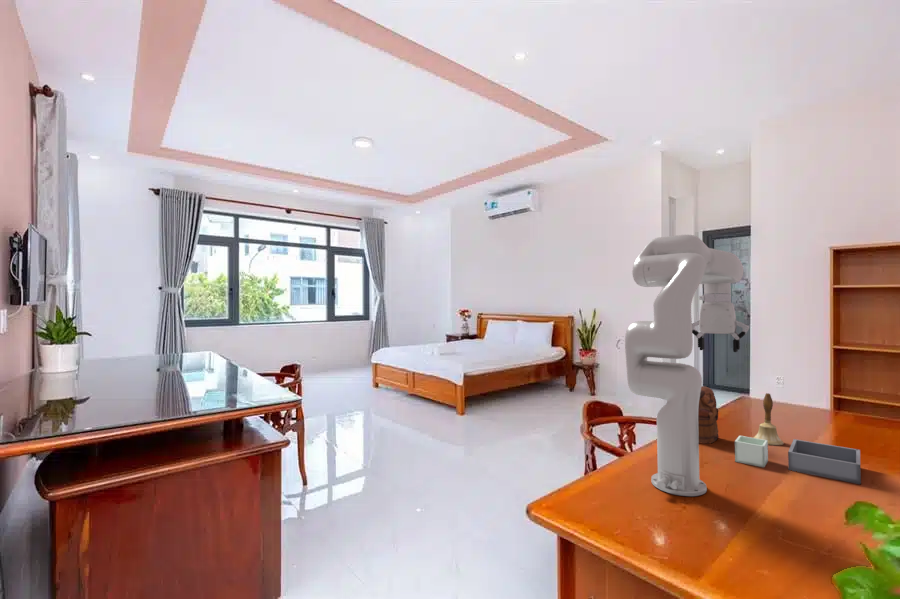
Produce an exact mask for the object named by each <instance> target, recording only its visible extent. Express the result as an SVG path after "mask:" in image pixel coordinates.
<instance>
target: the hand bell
mask: <svg viewBox="0 0 900 599" xmlns="http://www.w3.org/2000/svg"><path fill="white" fill-rule="evenodd" d="M764 395H765V396H764V398H763V403H762V406H763V410H764V422H763V423H760V424H759V427H758V432H757V433H756V434H755V435H754V436H753V437H752V438H757V439H763V440H768V446H782V445H784V444H785V443H784V442H783V440H782V439H781V438H780V437H779V434H778V432H777V426H776V425H774V424H773V423H772V416H771V415H772V414H771V413H772V409H773V405H774V403H773V398H772V394H771V393H767V392H766V393H765V394H764Z"/></svg>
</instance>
